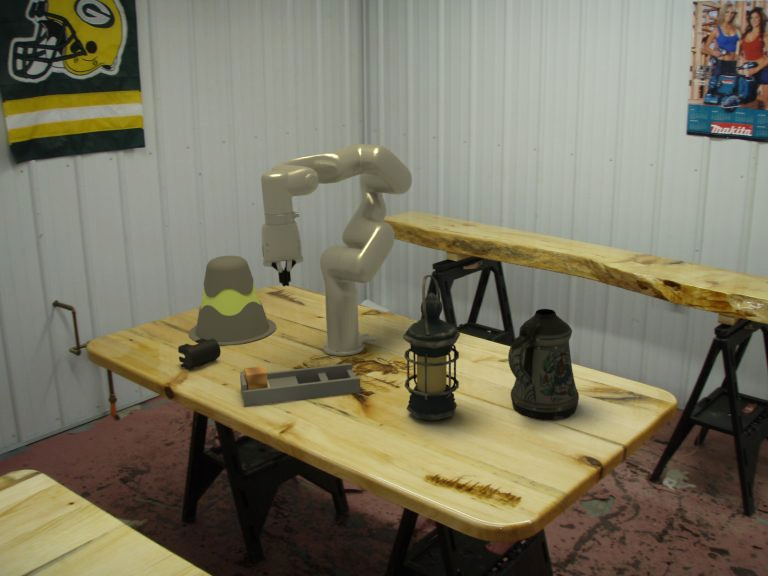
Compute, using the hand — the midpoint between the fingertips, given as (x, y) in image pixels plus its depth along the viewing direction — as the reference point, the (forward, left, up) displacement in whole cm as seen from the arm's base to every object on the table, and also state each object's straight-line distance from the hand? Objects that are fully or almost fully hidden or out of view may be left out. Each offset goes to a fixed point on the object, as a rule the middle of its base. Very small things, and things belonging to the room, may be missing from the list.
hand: (285, 284), depth 211 cm
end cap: (+24, -14, -26) cm, 38 cm away
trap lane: (-1, +13, -26) cm, 29 cm away
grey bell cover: (+13, -41, -26) cm, 50 cm away
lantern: (-30, +36, -26) cm, 54 cm away
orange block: (+11, +14, -23) cm, 29 cm away
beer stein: (-57, +41, -26) cm, 75 cm away
